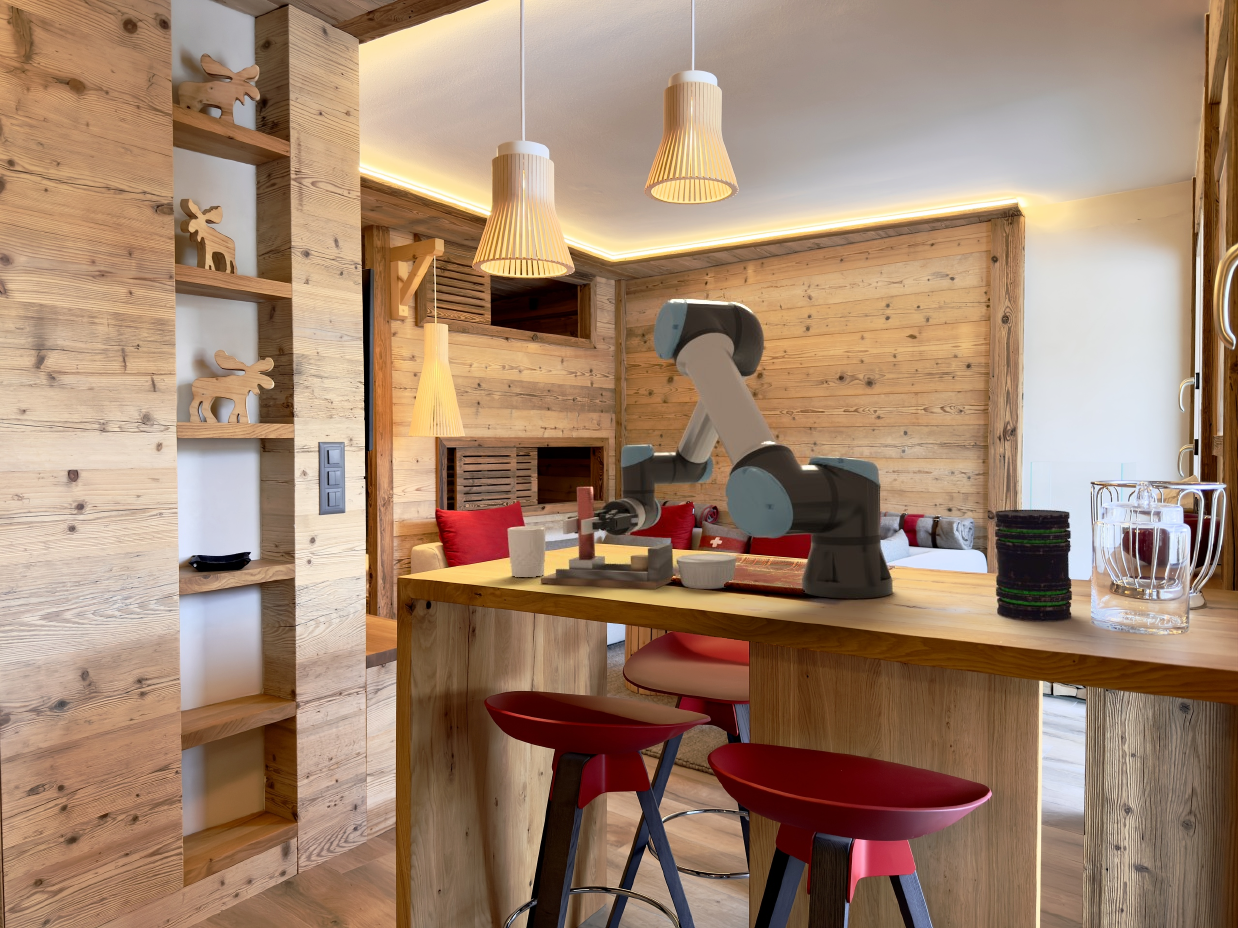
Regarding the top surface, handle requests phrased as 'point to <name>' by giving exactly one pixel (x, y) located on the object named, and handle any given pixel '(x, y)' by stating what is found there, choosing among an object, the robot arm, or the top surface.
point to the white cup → (527, 550)
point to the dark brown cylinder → (1033, 565)
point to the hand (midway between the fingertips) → (574, 527)
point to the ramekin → (706, 570)
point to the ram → (586, 541)
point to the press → (621, 573)
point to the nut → (639, 563)
